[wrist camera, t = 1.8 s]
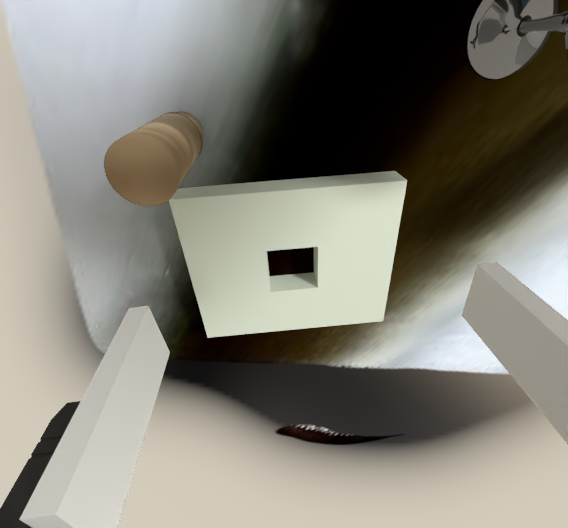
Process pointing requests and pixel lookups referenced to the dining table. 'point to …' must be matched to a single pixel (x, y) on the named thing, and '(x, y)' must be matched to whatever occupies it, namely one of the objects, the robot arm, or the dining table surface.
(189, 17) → the dining table surface
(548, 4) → the wine glass
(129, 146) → the peg
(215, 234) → the board
